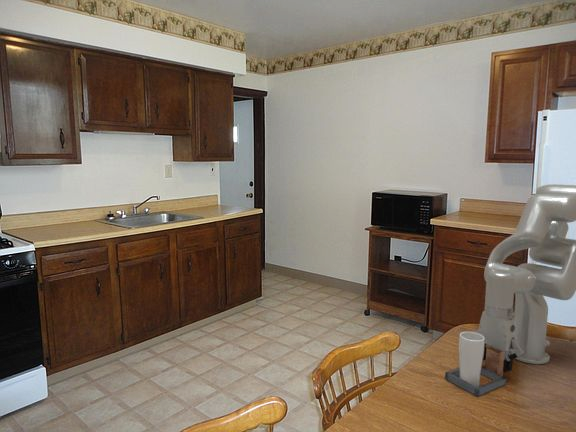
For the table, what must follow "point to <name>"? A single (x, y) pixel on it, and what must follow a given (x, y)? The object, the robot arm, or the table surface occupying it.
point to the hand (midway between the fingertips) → (494, 365)
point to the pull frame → (490, 370)
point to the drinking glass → (471, 356)
